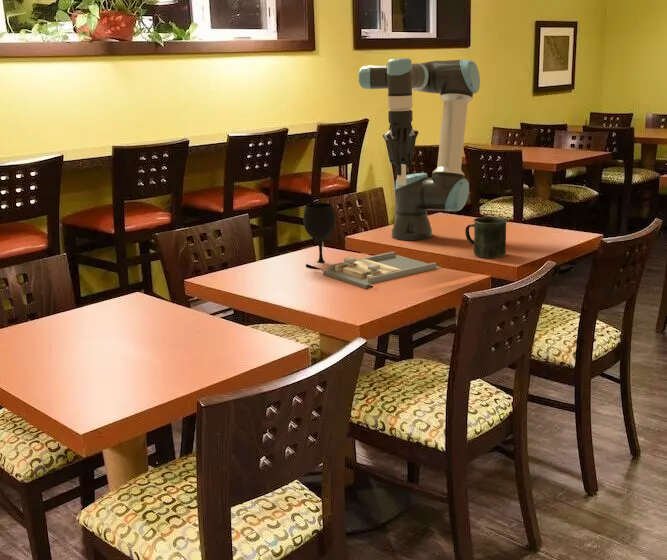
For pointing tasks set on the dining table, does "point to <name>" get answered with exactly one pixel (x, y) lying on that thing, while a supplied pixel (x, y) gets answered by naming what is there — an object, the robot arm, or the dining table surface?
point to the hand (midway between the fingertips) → (401, 184)
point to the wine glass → (319, 224)
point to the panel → (364, 269)
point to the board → (388, 262)
